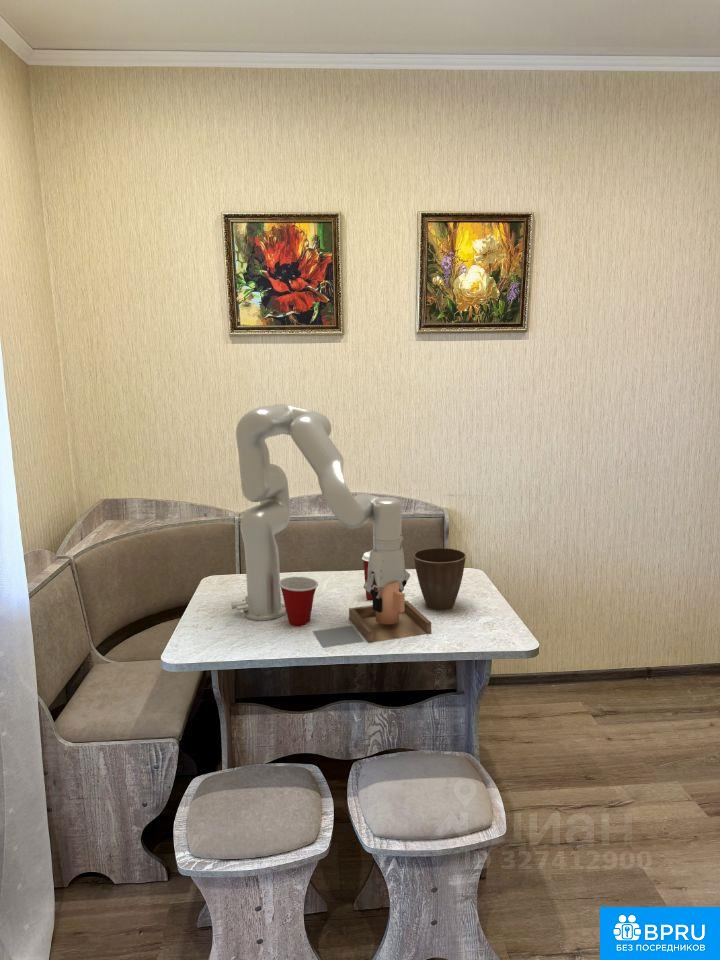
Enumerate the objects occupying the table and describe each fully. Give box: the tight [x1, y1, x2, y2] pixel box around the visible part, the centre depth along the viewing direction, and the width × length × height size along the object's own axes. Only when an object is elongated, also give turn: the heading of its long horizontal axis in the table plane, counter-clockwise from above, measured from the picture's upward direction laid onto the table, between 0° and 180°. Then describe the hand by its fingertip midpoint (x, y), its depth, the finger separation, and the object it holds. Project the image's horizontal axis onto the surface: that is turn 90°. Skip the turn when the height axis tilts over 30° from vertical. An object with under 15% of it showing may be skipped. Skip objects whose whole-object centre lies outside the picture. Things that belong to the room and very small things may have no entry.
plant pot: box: [413, 547, 467, 612], centre depth 198 cm, size 15×15×16 cm
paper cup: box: [361, 550, 373, 602], centre depth 207 cm, size 8×8×14 cm
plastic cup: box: [279, 576, 319, 627], centre depth 189 cm, size 11×11×12 cm
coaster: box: [312, 625, 365, 649], centre depth 179 cm, size 11×11×1 cm
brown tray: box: [348, 600, 432, 644], centre depth 185 cm, size 17×17×4 cm
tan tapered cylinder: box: [376, 581, 406, 624], centre depth 183 cm, size 9×6×11 cm
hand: (387, 607), depth 184 cm, fingers closed on tan tapered cylinder, 6 cm apart
